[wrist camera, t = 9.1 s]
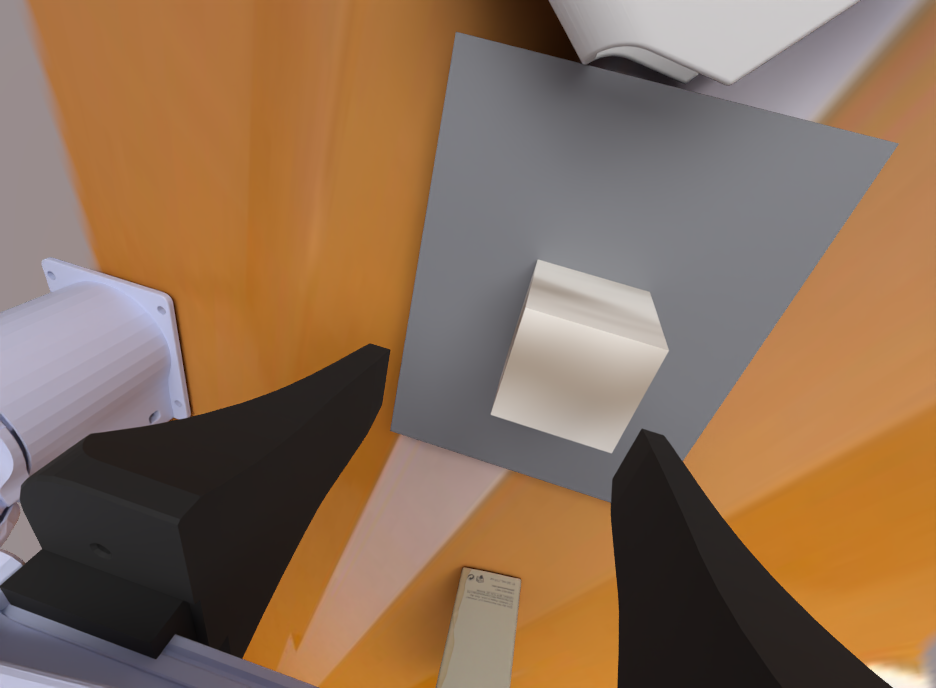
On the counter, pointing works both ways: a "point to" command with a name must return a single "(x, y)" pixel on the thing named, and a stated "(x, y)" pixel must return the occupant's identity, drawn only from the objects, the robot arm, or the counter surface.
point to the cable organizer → (692, 32)
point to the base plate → (609, 240)
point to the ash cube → (580, 357)
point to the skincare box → (481, 632)
